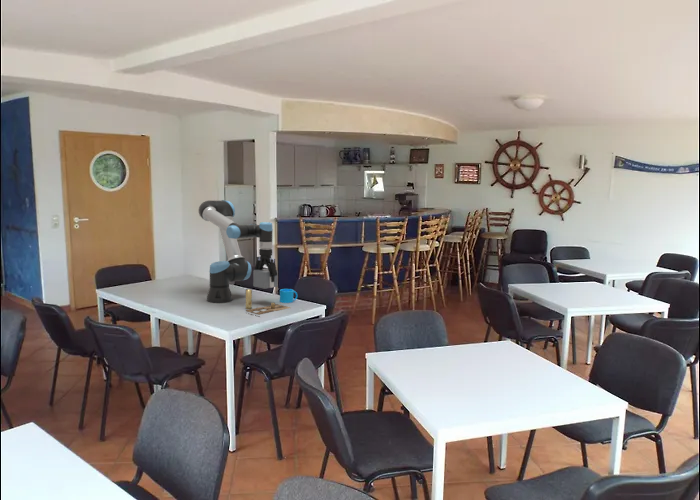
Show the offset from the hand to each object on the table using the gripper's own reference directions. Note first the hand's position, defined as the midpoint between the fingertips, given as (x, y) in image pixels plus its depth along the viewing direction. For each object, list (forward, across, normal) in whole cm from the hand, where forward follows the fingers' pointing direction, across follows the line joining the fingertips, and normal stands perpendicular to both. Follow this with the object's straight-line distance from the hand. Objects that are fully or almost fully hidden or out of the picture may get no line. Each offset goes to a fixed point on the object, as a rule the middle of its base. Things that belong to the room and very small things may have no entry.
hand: (265, 286), depth 309 cm
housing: (0, 0, 0) cm, 0 cm away
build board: (+12, +12, -14) cm, 22 cm away
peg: (+12, +3, -15) cm, 19 cm away
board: (+12, +12, -2) cm, 17 cm away
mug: (+12, +5, +15) cm, 20 cm away
